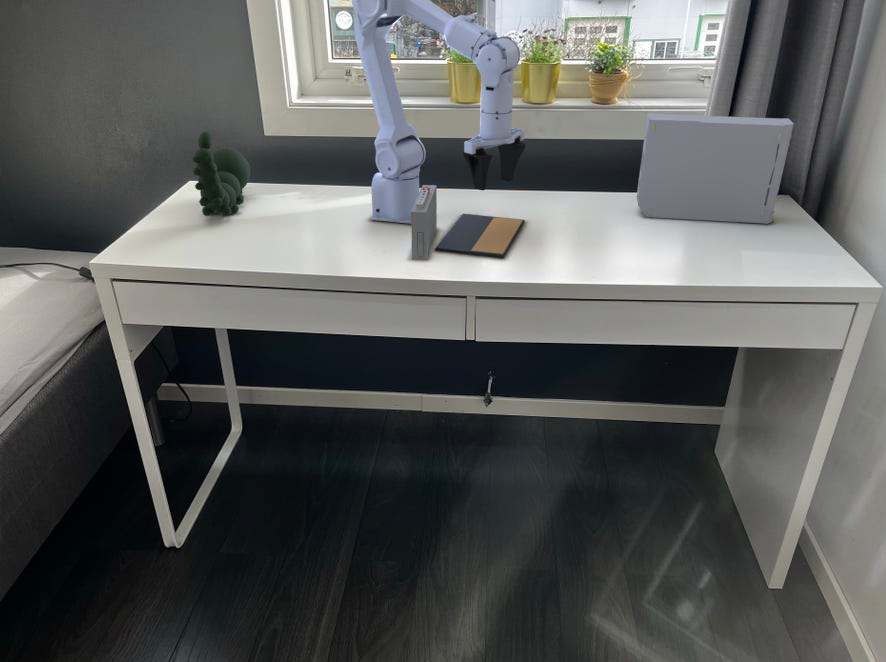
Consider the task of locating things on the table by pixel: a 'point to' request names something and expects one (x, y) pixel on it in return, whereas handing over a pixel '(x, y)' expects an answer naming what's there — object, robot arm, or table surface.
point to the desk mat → (481, 236)
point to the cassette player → (424, 222)
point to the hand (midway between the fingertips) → (493, 184)
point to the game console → (712, 167)
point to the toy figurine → (220, 177)
